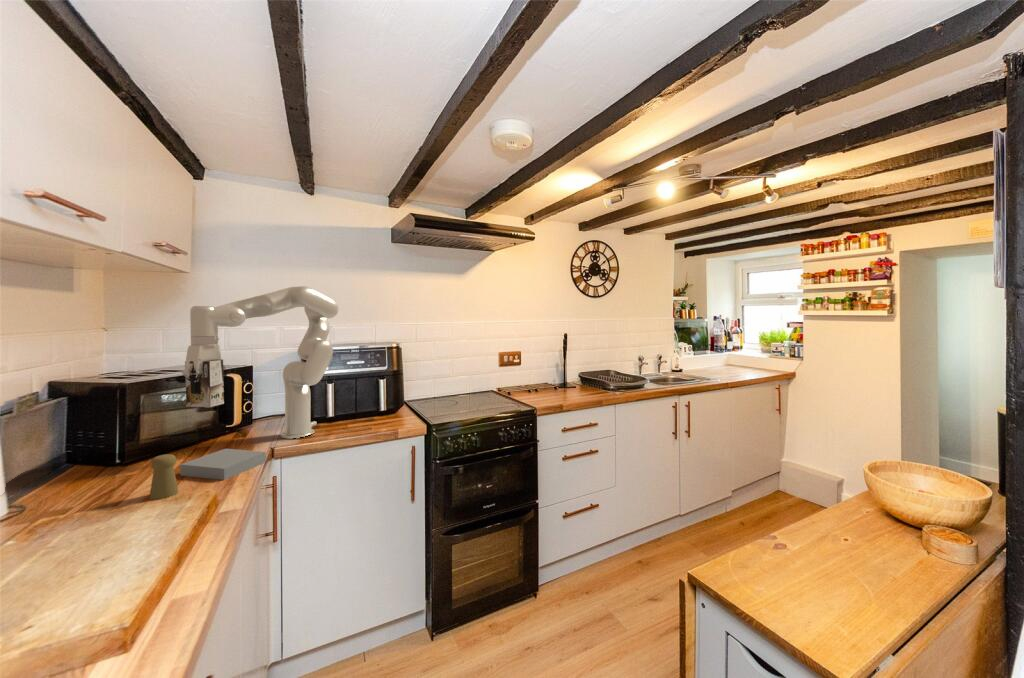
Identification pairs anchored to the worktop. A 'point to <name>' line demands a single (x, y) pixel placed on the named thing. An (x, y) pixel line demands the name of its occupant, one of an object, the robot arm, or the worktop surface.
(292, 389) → the robot arm
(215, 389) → the coffee box
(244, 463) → the podium
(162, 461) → the olive pepper mill
